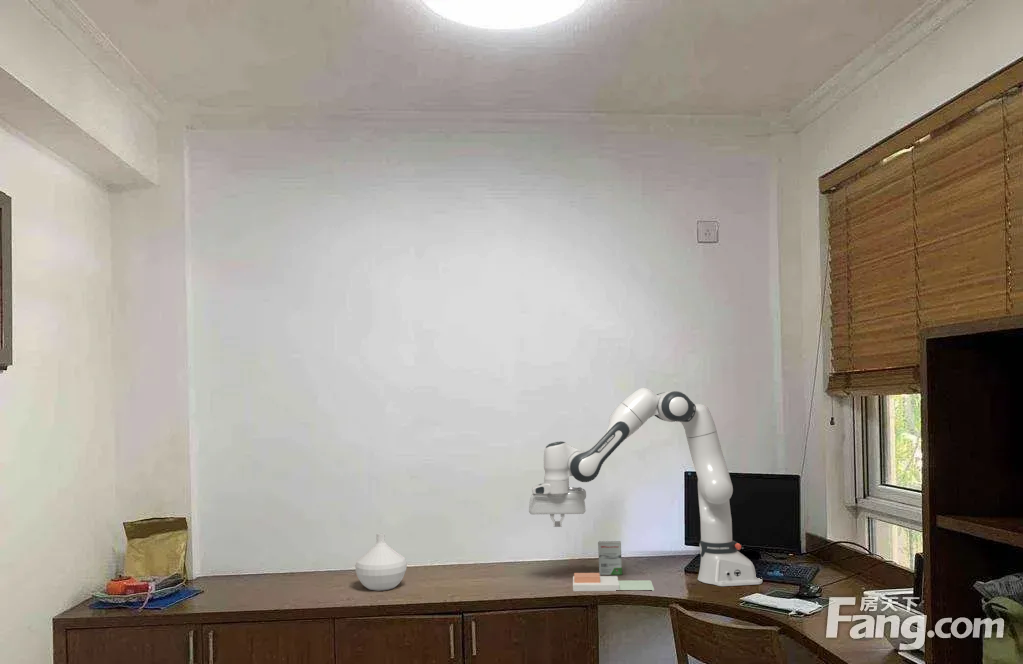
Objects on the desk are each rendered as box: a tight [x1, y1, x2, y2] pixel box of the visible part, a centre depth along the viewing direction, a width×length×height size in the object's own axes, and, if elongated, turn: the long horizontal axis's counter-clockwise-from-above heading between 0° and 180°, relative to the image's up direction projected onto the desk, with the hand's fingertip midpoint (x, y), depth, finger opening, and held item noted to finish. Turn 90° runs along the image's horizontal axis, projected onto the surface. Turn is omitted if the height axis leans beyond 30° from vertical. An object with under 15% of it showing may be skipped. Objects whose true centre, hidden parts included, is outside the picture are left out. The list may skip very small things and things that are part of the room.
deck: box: [572, 575, 619, 592], centre depth 307 cm, size 16×13×2 cm
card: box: [573, 572, 601, 583], centre depth 307 cm, size 9×6×2 cm, turn 86°
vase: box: [354, 532, 408, 591], centre depth 313 cm, size 18×18×19 cm
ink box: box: [597, 540, 623, 576], centre depth 326 cm, size 9×5×12 cm, turn 84°
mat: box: [618, 579, 655, 592], centre depth 306 cm, size 12×13×1 cm
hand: (557, 526), depth 309 cm, fingers closed
